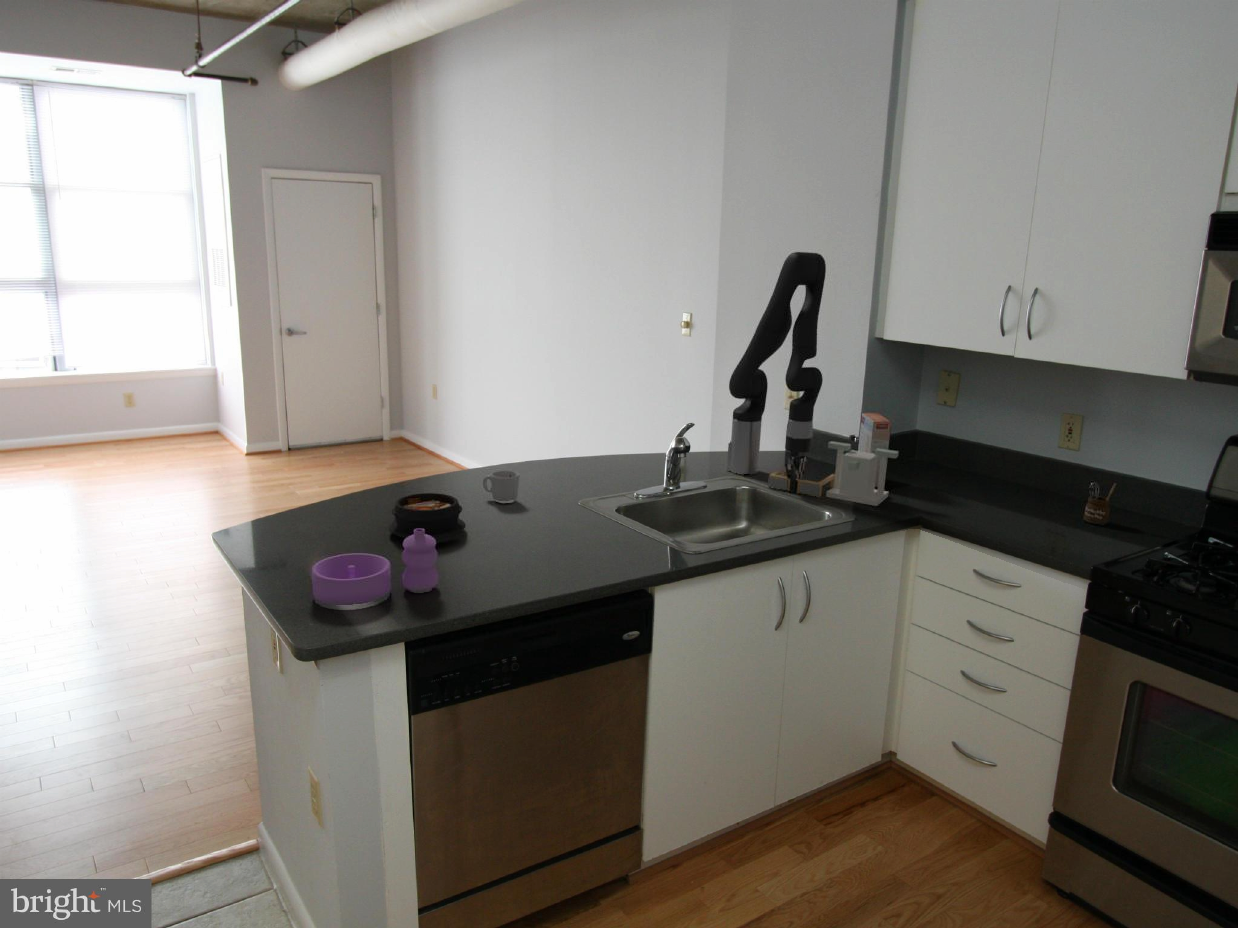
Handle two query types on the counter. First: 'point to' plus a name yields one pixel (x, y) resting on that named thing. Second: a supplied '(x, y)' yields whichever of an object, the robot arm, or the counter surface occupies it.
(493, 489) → the cup
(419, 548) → the container set
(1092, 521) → the utensil holder
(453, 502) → the casserole
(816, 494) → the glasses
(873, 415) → the cracker box
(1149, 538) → the counter surface
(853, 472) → the display stand
